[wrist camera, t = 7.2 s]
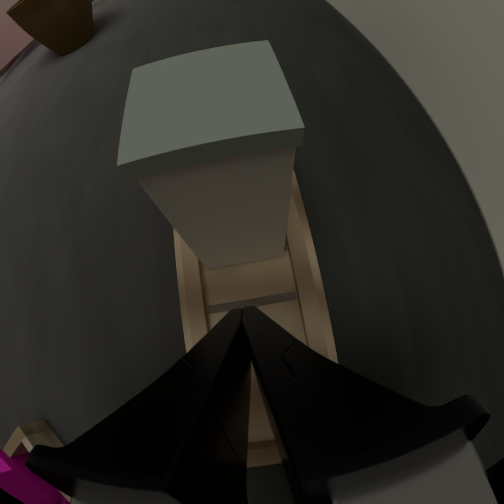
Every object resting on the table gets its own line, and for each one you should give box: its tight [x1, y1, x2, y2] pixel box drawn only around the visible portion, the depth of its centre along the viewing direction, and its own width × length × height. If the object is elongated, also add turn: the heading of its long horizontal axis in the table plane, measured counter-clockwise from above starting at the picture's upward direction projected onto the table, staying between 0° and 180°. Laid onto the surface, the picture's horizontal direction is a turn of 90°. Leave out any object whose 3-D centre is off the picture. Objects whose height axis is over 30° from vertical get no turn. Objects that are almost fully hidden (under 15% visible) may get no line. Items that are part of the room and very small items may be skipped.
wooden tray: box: [173, 157, 338, 467], centre depth 18 cm, size 20×9×3 cm, turn 9°
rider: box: [117, 40, 305, 269], centre depth 13 cm, size 5×5×12 cm
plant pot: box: [6, 0, 93, 55], centre depth 27 cm, size 15×15×16 cm
